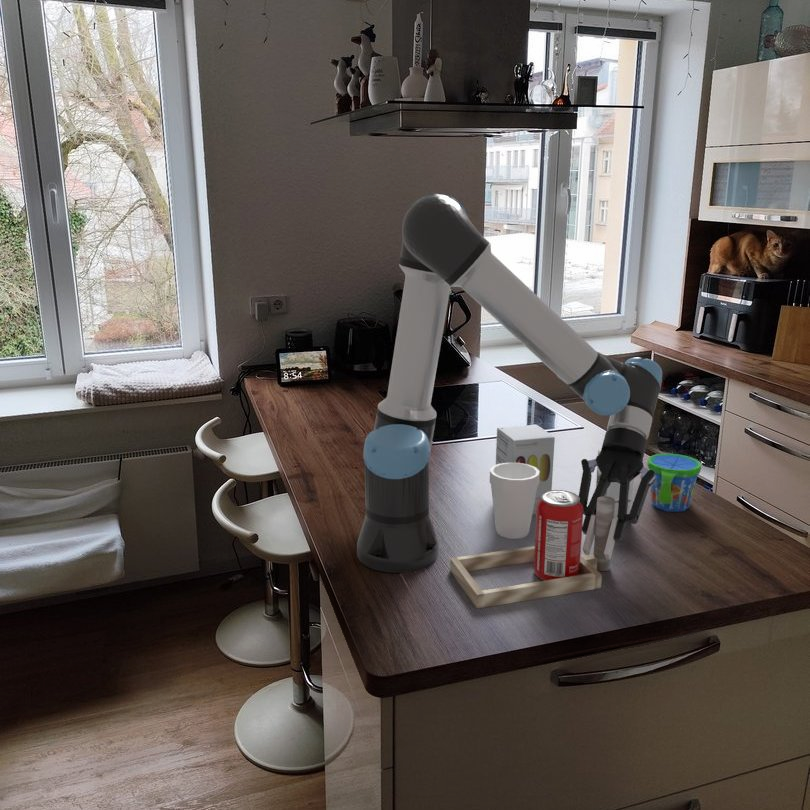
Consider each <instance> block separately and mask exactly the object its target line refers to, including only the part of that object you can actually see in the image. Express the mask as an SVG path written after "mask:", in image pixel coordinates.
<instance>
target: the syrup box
mask: <svg viewBox="0 0 810 810" xmlns="http://www.w3.org/2000/svg"><path fill="white" fill-rule="evenodd" d="M601 449H602V448H601ZM601 449H599V448H598V451H597V456H598V455H599V454H600V452H601ZM600 476H601V472H600V470H599V468H598V466H596V482H595V483H596V484H595V488H596V487H597V485H598V482H599V480H600ZM634 479H635V478H634ZM634 479H633V480H631V481H630V485H629V494H628V508H627V514H629V513H630V510H631V508H632V505H633V495H634V493H633V492H634ZM619 493H620V484H619V483H617V482H611V484H610V486H609V487H608V488H607V491H606V493H605V495H604V496H607V497H611V498H613V499H615V508H614V519H617V520H618V517H617V515H618V505H619Z"/></svg>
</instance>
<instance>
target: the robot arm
mask: <svg viewBox="0 0 810 810" xmlns="http://www.w3.org/2000/svg"><path fill="white" fill-rule="evenodd" d="M401 235H402V240H401V241H402V242H401V250H400V254H399V262H398V266H399V268H400V269H401V271H402V272H403V273H404V276H405V278H404V282H403V283H404V284H403V291H402V295H401V296H402V297H401V302H400V310H399V316H398V317H399V318H398V322H397V329H396V336H395V343H394V349H393V356H392V363H391V369H390V375H389V380H388V389H387V394H386V397H385V398H384V399H383V400H382V401H379V403H378V404H377V409H376V415H375V416H376V417H375V422H374V428H373V430H372V431H370V432H369V433H368V434H367V436H366V437H365V440H364V447H363V451H362V456H363V461H364V462H363V463H364V496H365V497H364V501H365V503H364V504H365V516H364V520H363V523H362V526H361V529H360V532H359V535H358V539H357V542H356V556H357V559H358V561H359V562H360V563H361V564H362V565H364V566H365V567H366V568H368V569H372V570H374V571H378V572H383V573H391V574H401V573H409V572H413V571H419V570H421V569H424V568H427V567H429V566H430V565H432V564H434V562H435V561H436V560H437V559H438V557H439V541H438V537H437V534H436V532H435V528H434V526H433V522H432V520H431V517H430V465H431V450H432V445H433V438H434V433H435V432H434V431H435V428H436V427H435V426H436V421H437V420H436V419H437V411H436V410H435V408H434V407H433V406H432V404H431V403H432V398H433V393H434V386H435V380H436V374H437V370H438V369H437V368H438V363H439V357H440V352H441V345H442V340H443V334H444V327H445V322H446V316H447V310H448V304H449V299H450V293H451V288H455V287H456V288H461V289H462V290H463V291H464V292H466V294H468V296H470V297H471V298H472V299H473V300H474V301H475V302H476V303H477V304H478V305H480V306H481V307H482V308H483V309H484V310H485V311H486V312H487V313H489V314H490V315H491V317H493V318H494V319H495V320H496V321H497V322H498V323H499V325H501V326H502V327H504V328H505V330H507V331H508V332H509V333H510V334H511V335H513V337H515V338H516V339H517V340H518V341H519V342H520V343H521V344H522V345H524V347H526V349H528V350H529V352H531V353H532V354H533V355H534V356H535V357H536V358H538V359H539V360H540V361H541V362H542V363H543V364H544V365H545V366H547V368H549V369H550V371H552V372H553V373H554V374H555V375H556V377H557V379H560V380H561V381H563V382H564V383H565V384H566V385H567V386H568V387H569V388H570V389H571V390H572V391H573V392H574V393H575V394H576V395H578V397H580V398H581V399H582V400H583V401H584V404H585V405H586V407H587V408H589V409H590V410H591V411H592V412H593V413H595V414H597V415H599V416H605V417H608V416H609V420H608V422H607V423H608V424H607V427H606V430H607V431H606V432H605V435H604V437H603V442H602V445H601V452H600V454H599V455H598V454H597V455H596V457H595V458H594V459H590V460H588V459H586V458H583V459H581V461H580V464H581V467H582V468H581V469H582V475H581V480H580V487H579V491H578V496H579V498H580V503H581V504H582V506H583V516H584V518H583V524H582V535H585V539H584V542H583V546H582V552H583V554H585V555H589V554H590V553H591V550H592V546H593V544H594V539H595V524H596V509H597V498H598V497H601V496H604V495H605V493H606V491H607V488H608V487H609V486H610V484H611V482H617V483H619V484H620V493H619V505H618V515H617V517H618V520H617V519H612V523H611V527H610V531H609V535H608V539H607V543H606V547H605V551H604V555H605V558H606V559H608V560H611V559H612V555H613V551H614V548H615V543H616V542H620V543H621V541H622V540H623V535H624V532H625V529H626V526H627V525H630V524H632V525H636V524H637V523H638V521H639V519H640V515H641V512H642V509H643V507H644V504H645V501H646V499H647V495H648V492H649V489H650V488H651V487H650V486H651V485H652V484H653V482H654V481H655V480H656V477H655V472H654V471H653V470H649V468H646V467H644V462H643V461H644V457H645V452H646V448H647V444H648V442H647V440H648V438H649V436H650V432H651V427H652V423H653V418H654V413H655V410H656V406H657V403H658V399H659V395H660V393H661V390H662V389H661V388H662V383H663V382H662V381H663V369H662V368H661V366H660V365H659V364H658V363H657V362H656V361H654V360H652V359H649V358H642V357H638V356H637V357H636V356H635V357H630V358H629V359H627V360H626V361H625V362H622V361H619V360H616V359H615V358H612V357H609V356H607V355H606V354H603V353H601V352H598V351H596V349H595V348H593V347H592V345H590V344H589V343H588V342H587V341H586V340H585V339H584V338H582V337H583V336H582V337H581V335H580V334H578V332H576V331H575V330H574V329H573V328H572V327H571V326H570V325H569V324H568V323H567V322H565V321H564V320H563V318H562V317H560V316H559V314H557V313H556V312H555V311H554V310H553V309H552V308H551V307H549V305H548V304H547V303H545V302H544V301H543V300H542V299H541V298H540V297H539V296H538V295H537V294H536V293H535V292H534V291H532V289H531V288H529V287H528V285H526V284H525V282H523V281H522V280H521V279H520V278H519V277H518V276H517V275H515V273H514V272H513V271H511V270H510V269H509V268H508V267H507V266H506V265H505V264H504V263H503V262H502V261H501V260H500V259H498V257H497V256H495V254H493V253H492V247H491V246H492V243H490V241H489V240H488V239H486V238H485V237H484V236H483V235H482V234H481V233H480V232H479V231H478V229H477V227H475V225H474V224H473V223H472V222H471V220H470V218H469V215H468V213H467V211H466V209H465V208H464V206H463V205H462V204H461V203H460V201H459V200H457V199H456V198H455V197H452V196H450V195H447V194H446V195H445V194H443V193H440V194H439V193H431V194H427V195H424V196H423V197H420V198H419V199H417V200H416V201H414V203H413V204H412V205H411V206H410V207H409V208H408V210H407V211H406V213H405V215H404V218H403V220H402V226H401ZM597 466H598V468H599V470H600V472H601V476H600V480H599V482H598V485H597V487H596V486H595V490H594V491H593V495H592V496H591V498H590V501H589V495H590V490H591V483H592V474H593V473H594V471H595V470H596V468H597ZM639 475H640V481H639V485H638V487H637V488H638V489H637V491H636V493H635V496H634V500H633V501H632V508H631V510H630V513H629V514H627V508H628V494H629V485H630V481H631V480H633V479H635V478H637V477H638V476H639ZM633 481H634V480H633ZM588 501H589V502H588Z"/></svg>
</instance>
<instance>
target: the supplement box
mask: <svg viewBox="0 0 810 810" xmlns="http://www.w3.org/2000/svg"><path fill="white" fill-rule="evenodd" d="M555 439H556V438H555V436H554V435H553V434H551V433H549V432H548V431H547V430H545V429H544V428H542V427H541V426H539V425H538V424H529V425H528V424H527V425H517V426H505V427H501V426H500V427H499V426H498V427H497V428H496V444H495V446H496V447H495V465H497V464H501V463H523V464H529V465H531V466H534V467H536V468H537V469H538V470H539V471H540V473H539V485H538V487H537V491H536V496H535V502H534V507H533V513H532V516H534V515H536V507H537V503H538V501H539V500H540V499H541V495H542V494H543V493H544V492H547V491H551V490H553V489H552V488H553V471H554V458H555V457H554V456H555V441H556V440H555Z"/></svg>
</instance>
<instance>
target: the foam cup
mask: <svg viewBox="0 0 810 810" xmlns="http://www.w3.org/2000/svg"><path fill="white" fill-rule="evenodd" d="M539 473H540V471H539V470H538V469H537V468H536V467H534V466H531V465H529V464H523V463H501V464H497V465H496V464H495V465H493V466H491V468H490V470H489V483H490V488H491V498H492V504H493V505H492V507H493V515H494V517H493V518H494V523H495V530H496V531H495V532H496V533H497V534H498V536H501V537H503V538H504V539H505V538H506V539H512V540H513V539H514V540H515V539H516V540H517V539H523V538H525V537H526V536H528V535H529V533H530V529H531V522H532V517H533V515H532V513H533V507H534V502H535V496H536V491H537V487H538V485H539Z"/></svg>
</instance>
